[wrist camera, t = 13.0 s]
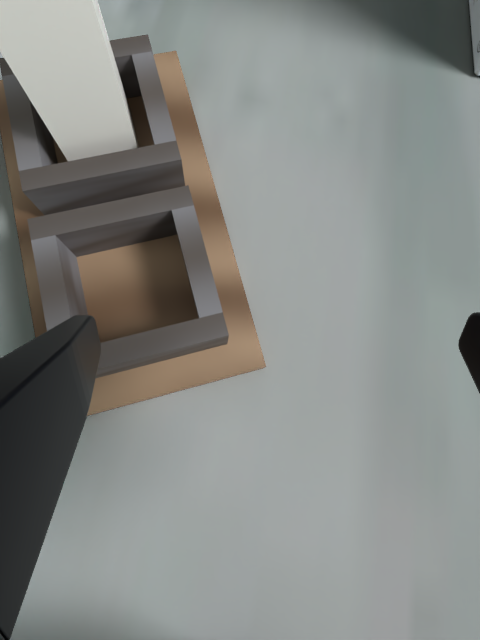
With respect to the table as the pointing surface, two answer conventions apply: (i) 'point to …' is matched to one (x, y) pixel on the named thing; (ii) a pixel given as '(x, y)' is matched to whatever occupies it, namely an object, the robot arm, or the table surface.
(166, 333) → the dock
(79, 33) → the plug
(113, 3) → the table surface
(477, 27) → the string lights box
